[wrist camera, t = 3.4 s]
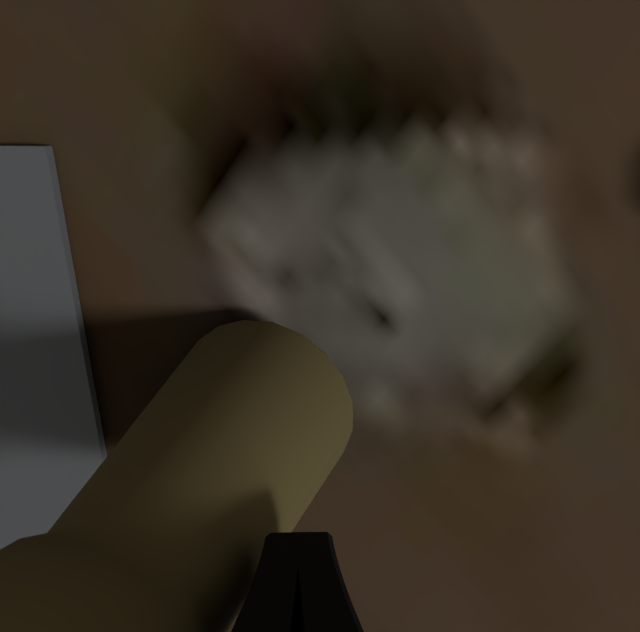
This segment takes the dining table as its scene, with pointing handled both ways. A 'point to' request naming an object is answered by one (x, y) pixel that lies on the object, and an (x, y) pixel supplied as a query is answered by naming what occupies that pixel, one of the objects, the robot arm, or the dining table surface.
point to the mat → (40, 353)
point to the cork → (188, 493)
